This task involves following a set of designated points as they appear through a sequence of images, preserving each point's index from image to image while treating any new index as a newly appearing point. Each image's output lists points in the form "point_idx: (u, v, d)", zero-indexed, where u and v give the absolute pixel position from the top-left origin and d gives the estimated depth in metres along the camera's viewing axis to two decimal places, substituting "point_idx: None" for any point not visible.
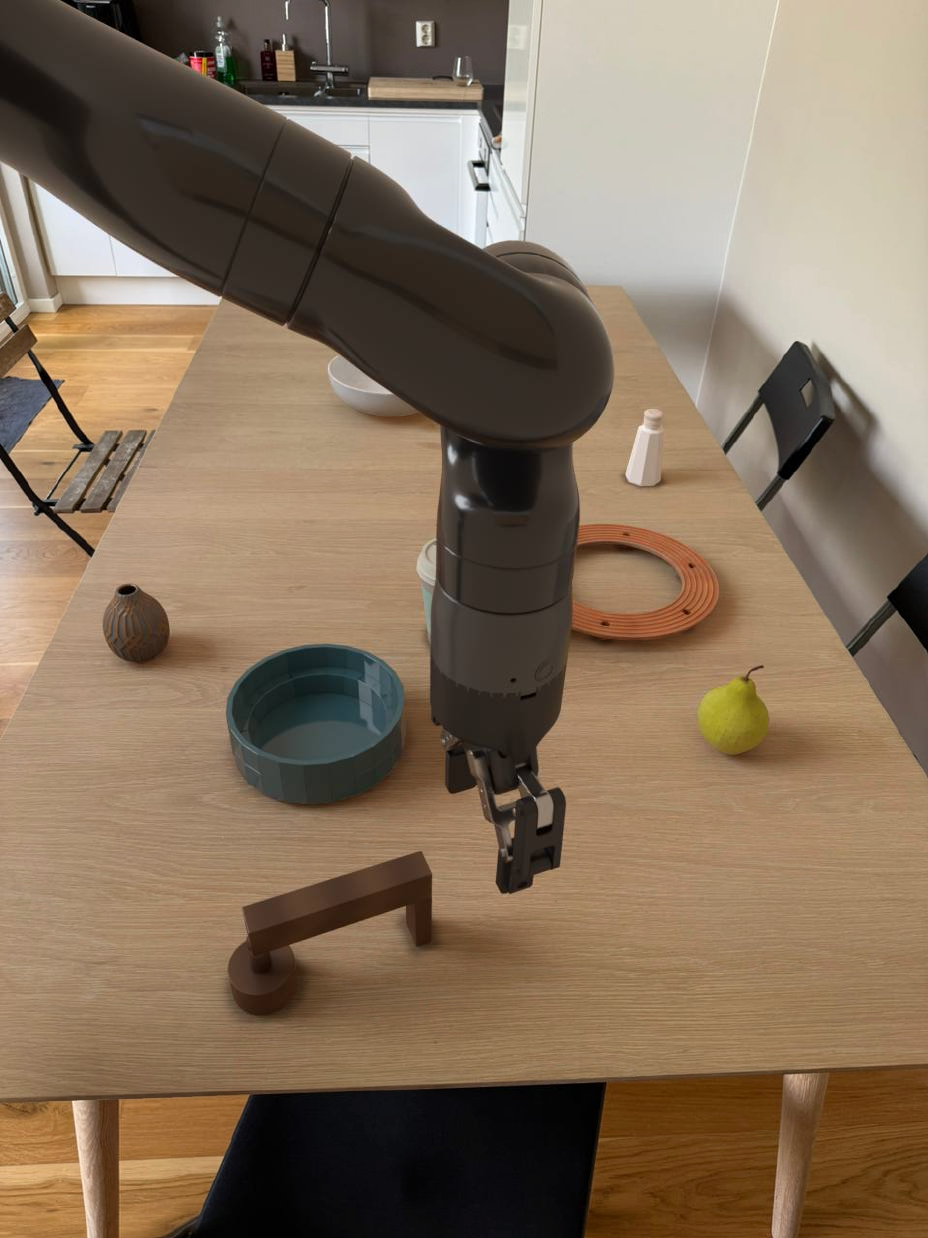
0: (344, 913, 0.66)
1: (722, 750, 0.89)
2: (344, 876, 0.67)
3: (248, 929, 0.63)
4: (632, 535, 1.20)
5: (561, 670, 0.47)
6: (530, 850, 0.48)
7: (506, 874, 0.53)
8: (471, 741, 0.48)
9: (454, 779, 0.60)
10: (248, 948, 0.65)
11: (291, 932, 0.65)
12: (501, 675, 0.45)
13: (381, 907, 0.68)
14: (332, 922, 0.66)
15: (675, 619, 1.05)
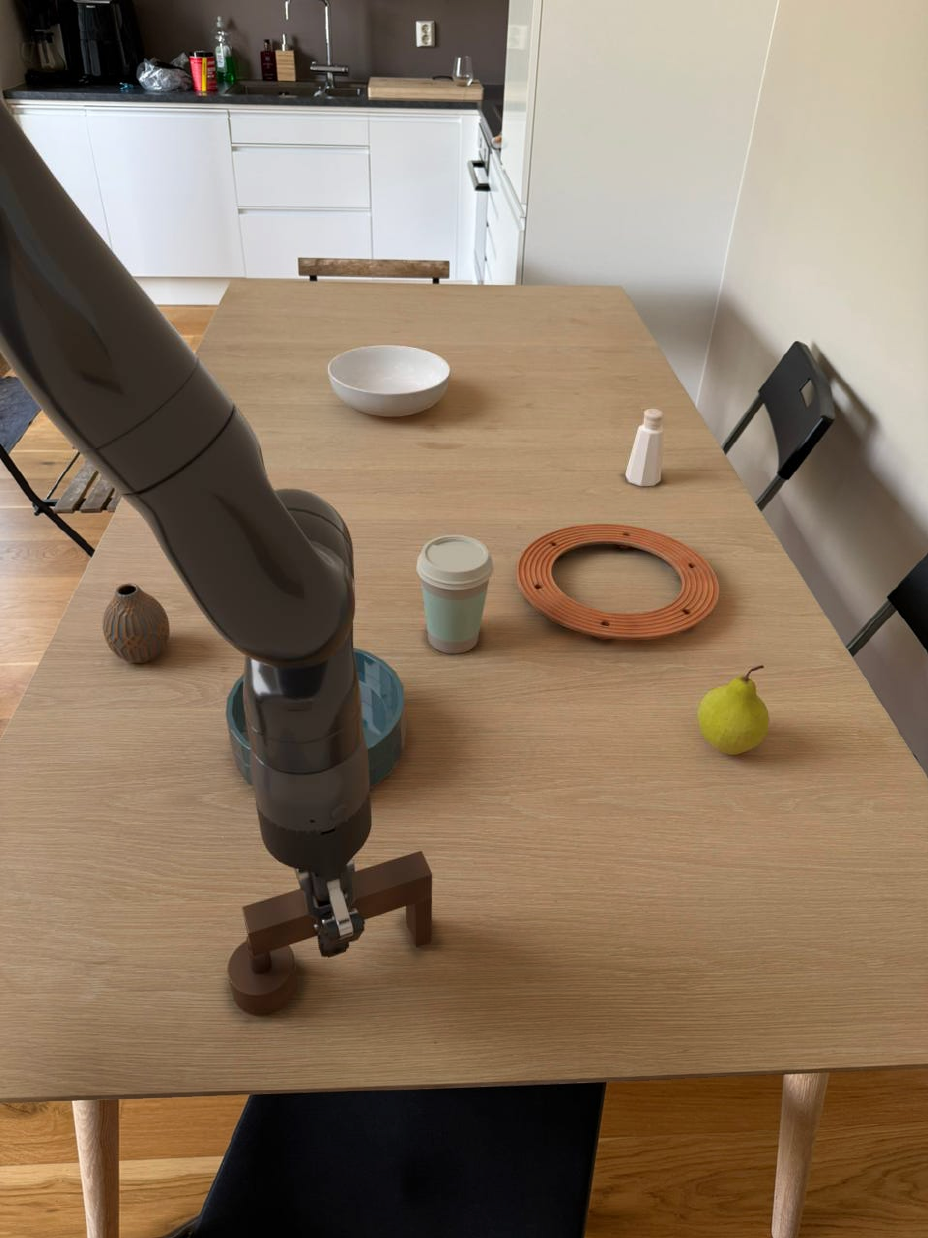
0: None
1: (722, 750, 0.89)
2: None
3: (248, 929, 0.63)
4: (632, 535, 1.20)
5: (359, 808, 0.57)
6: (332, 945, 0.61)
7: None
8: (288, 864, 0.58)
9: None
10: (248, 948, 0.65)
11: (291, 932, 0.65)
12: (301, 818, 0.55)
13: (381, 907, 0.68)
14: None
15: (675, 619, 1.05)
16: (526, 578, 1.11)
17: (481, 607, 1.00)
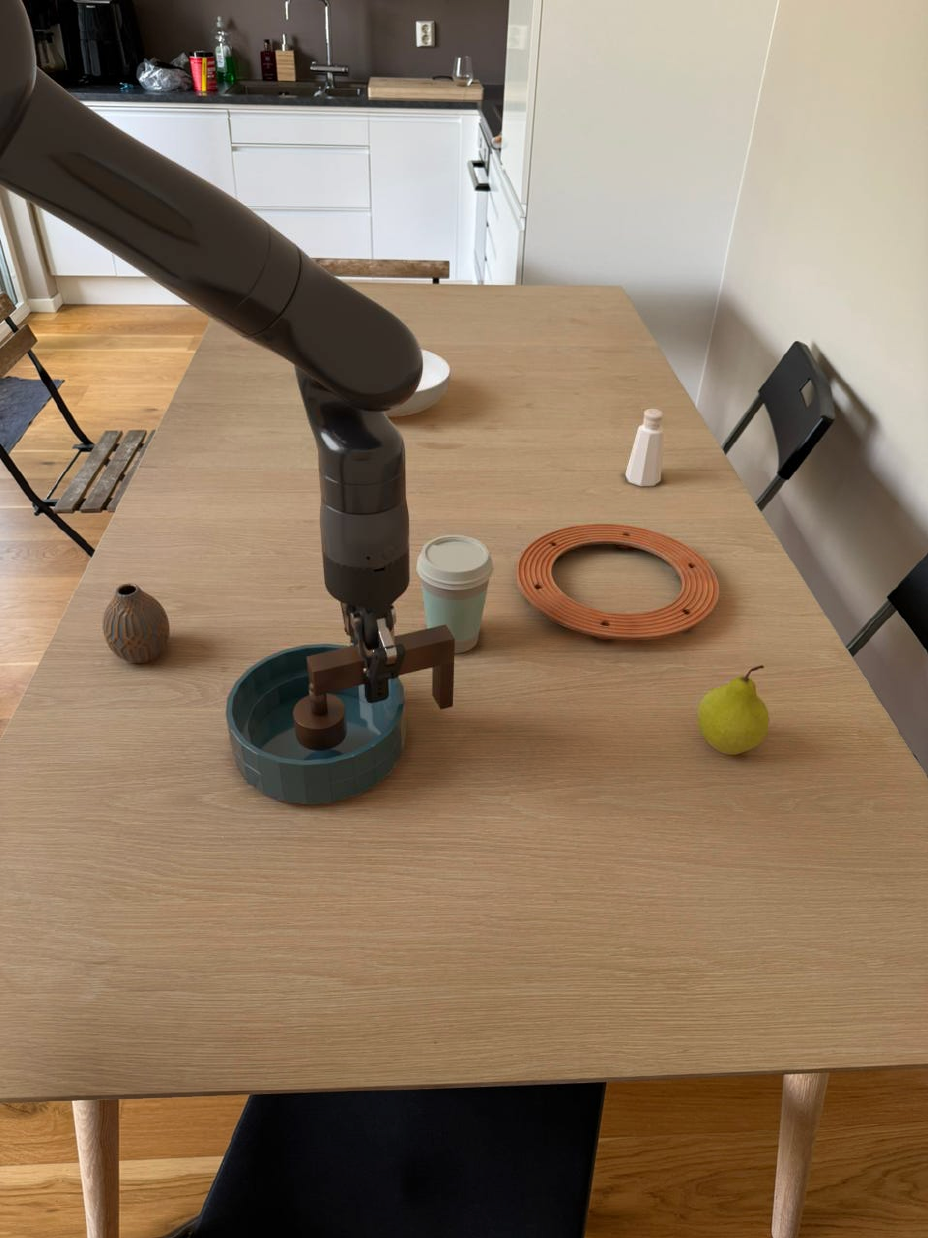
0: None
1: (722, 750, 0.89)
2: None
3: (312, 669, 0.81)
4: (632, 535, 1.20)
5: (402, 555, 0.75)
6: (379, 673, 0.79)
7: (369, 688, 0.84)
8: (347, 601, 0.76)
9: None
10: (311, 690, 0.83)
11: (345, 676, 0.83)
12: (360, 554, 0.73)
13: (414, 664, 0.85)
14: None
15: (675, 619, 1.05)
16: (526, 578, 1.11)
17: (481, 607, 1.00)
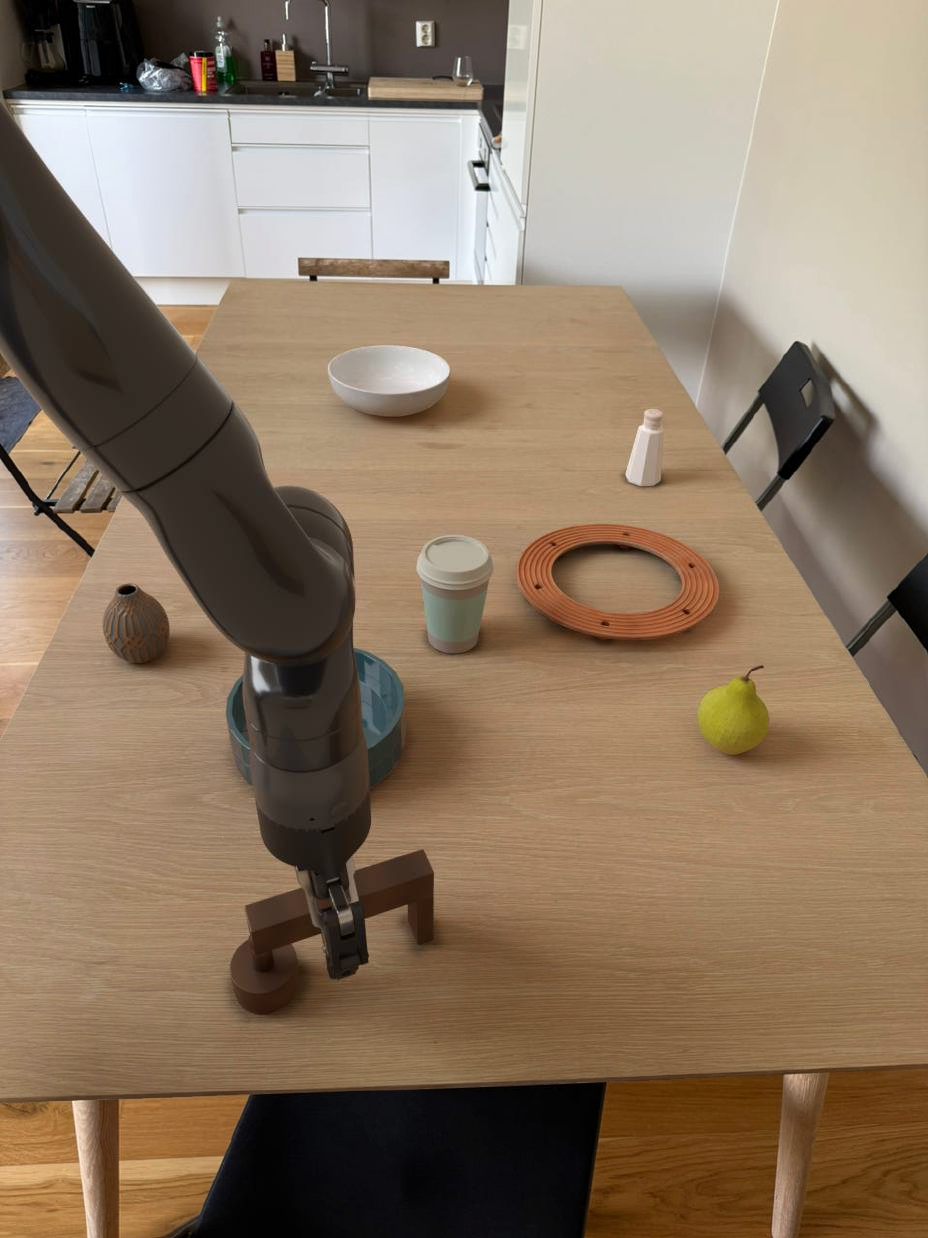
0: None
1: (722, 750, 0.89)
2: None
3: (250, 928, 0.64)
4: (632, 535, 1.20)
5: (358, 806, 0.57)
6: (338, 952, 0.58)
7: None
8: (287, 863, 0.58)
9: None
10: (250, 947, 0.66)
11: (293, 931, 0.65)
12: (301, 816, 0.55)
13: (383, 906, 0.68)
14: None
15: (675, 619, 1.05)
16: (526, 578, 1.11)
17: (481, 607, 1.00)
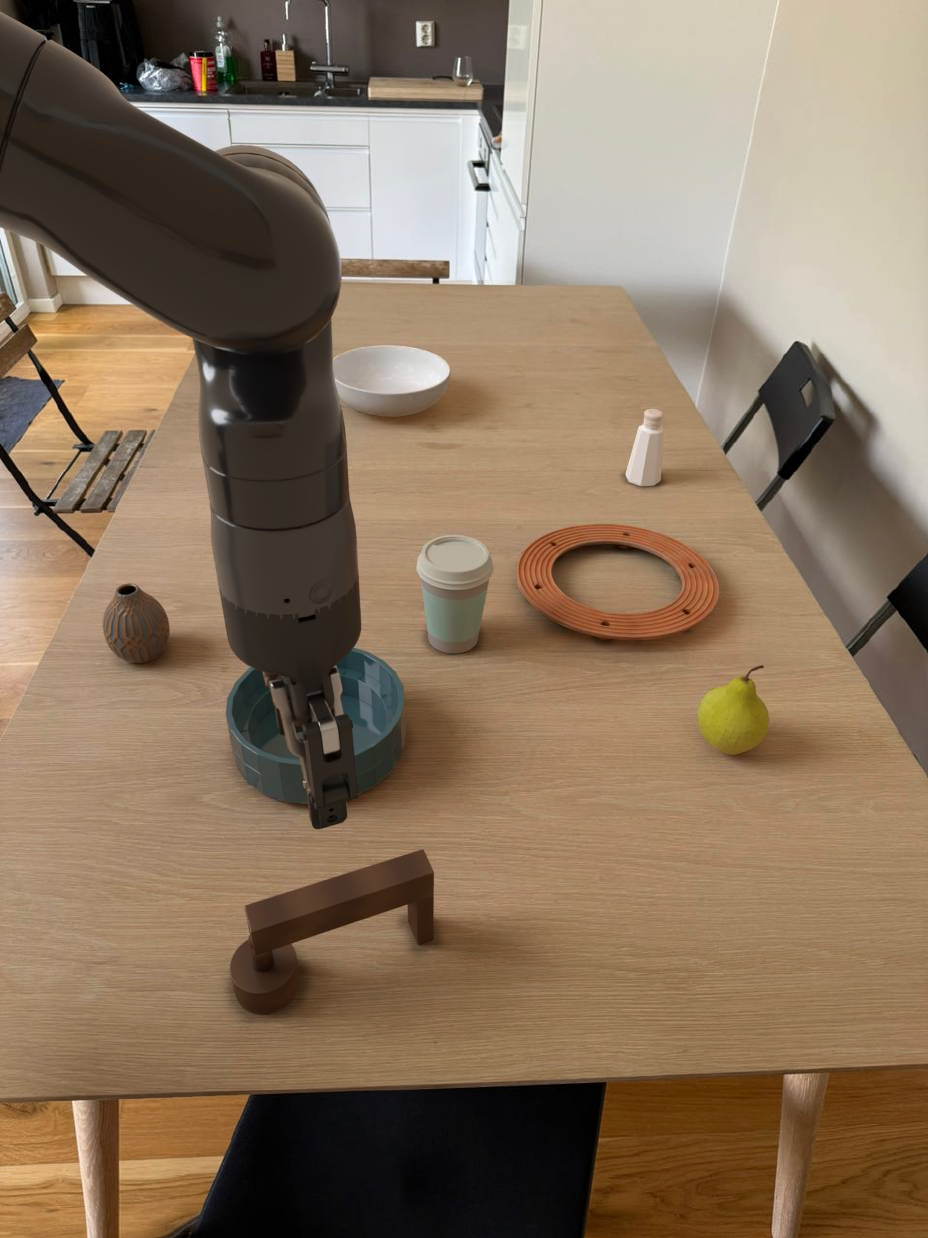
0: (346, 911, 0.66)
1: (722, 750, 0.89)
2: (346, 875, 0.67)
3: (250, 928, 0.64)
4: (632, 535, 1.20)
5: (345, 594, 0.47)
6: (320, 777, 0.48)
7: (315, 808, 0.53)
8: (259, 667, 0.48)
9: None
10: (250, 947, 0.66)
11: (293, 931, 0.65)
12: (273, 595, 0.44)
13: (383, 906, 0.68)
14: (334, 920, 0.66)
15: (675, 619, 1.05)
16: (526, 578, 1.11)
17: (481, 607, 1.00)
